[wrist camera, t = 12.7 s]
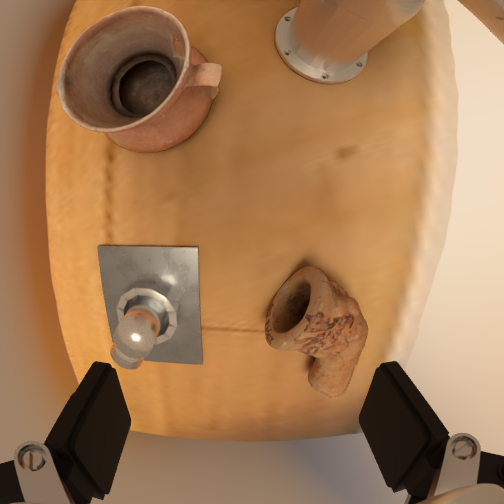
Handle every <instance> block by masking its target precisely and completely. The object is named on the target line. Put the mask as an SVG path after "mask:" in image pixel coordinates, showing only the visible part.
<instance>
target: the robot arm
mask: <svg viewBox="0 0 504 504" xmlns="http://www.w3.org/2000/svg"><path fill="white" fill-rule="evenodd" d="M458 1H459V2H460V3H462V4H463V5H464V6H465V7H466V8H467V9H468V10H469V11H471V12H472V13H473V14H474V15H475V16H476V17H477V18H478V19H479V20H480V21H481V22H482V23H483V24H484V25H485V26H486V27H487V28H488V29H489V30H490V31H491V32H492V33H493V34H494V35H495V36H496V37H497V38H498V39H499V40H500V41H501V42H502V43H503V44H504V0H458ZM423 3H424V0H301V1H300V3H299V6H298V7H296V8H294V9H292V10H290V11H288V12H287V13H286V14H284V15H283V17H282V18H281V19H280V20H279V22H278V25H277V27H276V31H275V43H276V48H277V50H278V52H279V54H280V56H281V58H282V59H283V60H284V62H285V63H286V64H287V65H288V66H289V67H290V68H291V69H292V70H294V71H295V72H296V73H298V74H299V75H301V76H303V77H305V78H307V79H309V80H312V81H315V82H319V83H324V84H338V83H343V82H346V81H349V80H351V79H352V78H354V77H355V76H357V75H358V74H359V73H360V72H361V71H362V70H363V69H364V67H365V65H366V62H367V59H368V51H369V50H370V49H371V48H373V47H374V46H375V45H376V44H378V43H379V42H380V41H382V40H383V39H384V38H385V37H387V36H388V35H389V34H391V33H392V32H393V31H395V30H396V29H397V28H399V27H400V26H401V25H403V24H404V23H405V22H407V21H408V20H409V19H411V18H412V17H413V16H415V15H416V14H417V13H418V12H419V10H420V9H421V7H422V5H423ZM285 54H288V55H285ZM322 76H323V77H325V79H324V78H323V77H322ZM359 423H360V426H361V428H362V430H363V432H364V435H365V437H366V439H367V441H368V443H369V446H370V448H371V450H372V452H373V455H374V457H375V459H376V462H377V464H378V466H379V468H380V471H381V473H382V475H383V478H384V480H385V482H386V485H387V486H388V487H391V488H392V490H393V492H394V493H395V492H398V491H401V490H403V489H406V490H407V492H408V495H407V498H406V500H405V503H404V504H504V456H501V455H496V454H491V453H487V452H483V451H481V450H480V449H481V448H480V444H479V442H478V441H477V439H476V438H475V437H473V436H472V435H470V434H467V433H458V434H455V435H453V436H452V437H451V438H450V437H449V436H448V434H449V432H448V431H447V429H446V428H445V426H444V425H443V423H442V422H441V421H440V420H439V418H438V416H437V415H436V413H435V412H434V411H433V409H432V408H431V407H430V405H429V404H428V403H427V401H426V400H425V398H424V397H423V396H422V394H421V393H420V391H419V390H418V389H417V387H416V386H415V385H414V383H413V382H412V381H411V379H410V378H409V377H408V375H407V374H406V373H405V371H404V370H403V369H402V367H401V366H400V365H399V363H398V362H396V361H392V362H386V363H381V365H380V366H379V367H378V368H376V370H375V373H374V376H373V379H372V382H371V385H370V388H369V391H368V394H367V396H366V399H365V402H364V404H363V407H362V410H361V412H360V415H359ZM130 426H131V417H130V414H129V411H128V408H127V405H126V402H125V399H124V396H123V393H122V389H121V386H120V383H119V379H118V376H117V372H116V369H115V368H112V366H111V365H110V364H109V363H103V362H97V361H95V362H94V363H93V364H92V366H91V367H90V369H89V370H88V372H87V373H86V375H85V377H84V378H83V380H82V382H81V383H80V385H79V387H78V388H77V390H76V392H75V393H73V394H72V395H71V397H70V399H69V400H68V402H67V404H66V405H65V407H64V409H63V410H62V412H61V414H60V416H59V417H58V419H57V421H56V423H55V424H54V426H53V428H52V430H51V432H50V433H49V435H48V437H47V439H46V441H45V443H44V444H42V443H40V442H37V441H27V442H25V443H22V444H21V445H20V446H18V448H17V449H16V450H15V453H14V460H12V461H8V462H5V463H1V464H0V504H90V502H91V499H92V497H94V498H98V499H101V500H103V499H104V496H105V494H109V492H110V489H111V486H112V483H113V480H114V476H115V473H116V470H117V466H118V463H119V460H120V457H121V453H122V450H123V447H124V444H125V441H126V438H127V434H128V432H129V429H130Z"/></svg>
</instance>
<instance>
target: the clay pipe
mask: <svg viewBox="0 0 504 504" xmlns="http://www.w3.org/2000/svg"><path fill="white" fill-rule="evenodd" d="M265 335H266V340H267V342H268V344H269V345H270V346H271V347H273V348H275V349H278V350H297V351H299V352H301V353H305V354H307V355H311V356H313V357H316V359H315V361H314V363H313V365H312V367H311V369H310V371H309V374H308V381H309V383H310V385H311V386H312V387H313V388H315V389H316V390H318V391H320V392H323V393H324V394H325V395H327V396H329V397H337V396H340V395H341V394H343V393H344V392H345V391H346V389H347V387H348V385H349V383H350V381H351V378H352V375H353V371H354V367H355V366H356V365H357V363H358V360H359V356H360V354H361V352H362V349H363V348H364V346H365V342H366V339H367V335H368V326H367V322H366V321H365V319H364V317H363V315H362V313H361V311H360V308H359V305H358V303H357V301H356V300H355V299H354V298H351V297H348V294H347V292H345V291H344V289H343V288H342V286H341V285H340V284H339V283H337V282H336V281H328V279H327V277H326V276H325V274H324V273H323V271H322V270H321V269H320V268H317V267H314V266H307V267H304V268H301V269H300V270H298V271H297V272H296V273H294V274H293V275H292V276H291V277H290V278H289V279H288V280H287V281H286V282H285V283H284V284H283V286H282V287H281V288H280V289H279V291H278V292H277V294H276V296H275V297H274V299H273V301H272V304H271V306H270V308H269V311H268V315H267V318H266V323H265Z"/></svg>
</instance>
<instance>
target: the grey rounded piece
mask: <svg viewBox="0 0 504 504" xmlns="http://www.w3.org/2000/svg"><path fill="white" fill-rule="evenodd" d="M166 315H167V310H166V309H165V307H164V306H163V304H162V303H161V302H159V301H158V300H156V299H154V298H152V297H151V296H142V295H140V296H138V297H137V299H136V300H135V301H134V303H133V304H132V306H131V307H130V309H129V310H128V311H127V313H126V314H125V316H124V317H123V319H122V320H121V322H120V323H119V324H118V326H117V327H116V329H115V331H114V333H113V340H114V343H113V345H112V347H111V350H110V354H111V357H112V359H113V360H114V361H115V362H116V363H117V364H118V365H119V366H121V367H123V368H126V369H137V368H138V367H140V365H141V363H142V361H143V360H144V358H145V357H146V356H148V355H149V354H150V352H151V350H152V348H153V345H154V343H155V341H156V338H157V336H158V334H159V331H160V329H161V327H162V324H163V322H164V320H165V317H166Z"/></svg>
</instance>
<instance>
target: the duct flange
mask: <svg viewBox="0 0 504 504" xmlns="http://www.w3.org/2000/svg"><path fill="white" fill-rule="evenodd" d="M97 247H98V256H99V265H100V273H101V280H102V287H103V294H104V300H105V306H106V311H107V317H108V322H109V327H110V332H111V336H112V341H113V343H114V340H113V333H114V331H115V329H116V327H117V326H118V324H119V323H120V322H121V320H122V319H123V317H124V316H125V314H126V313H127V311H128V310H129V309H130V307H131V306H132V304H133V303H134V301H135V300H136V299H137V297H138V296H140V295H142V296H151V297H152V298H154V299H156V300H158V301H159V302H161V303H162V304H163V306H164V307H165V309H166V310H167V315H166V317H165V320H164V322H163V324H162V327H161V329H160V331H159V334H158V336H157V338H156V341H155V343H154V345H153V348H152V350H151V352H150V354H149V355H148V356H146V357H145V358H144V360H145V361H155V362H167V363H182V364H201V365H203V354H202V338H201V318H200V294H199V258H198V247H194V246H129V245H99V246H97Z"/></svg>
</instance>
